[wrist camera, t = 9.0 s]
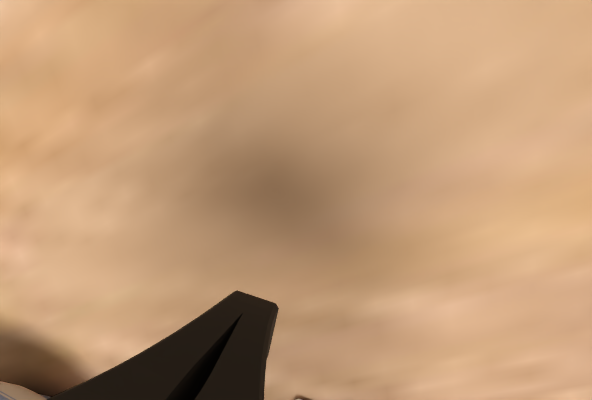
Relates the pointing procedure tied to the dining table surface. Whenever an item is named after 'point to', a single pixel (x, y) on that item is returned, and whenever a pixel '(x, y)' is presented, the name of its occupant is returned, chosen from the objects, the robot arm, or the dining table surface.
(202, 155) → the dining table surface
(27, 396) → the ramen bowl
